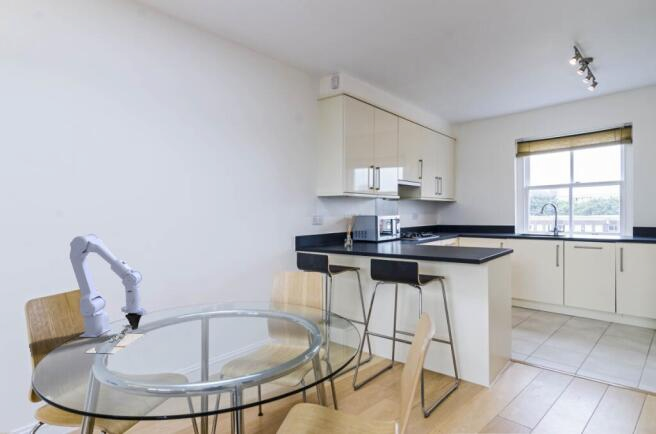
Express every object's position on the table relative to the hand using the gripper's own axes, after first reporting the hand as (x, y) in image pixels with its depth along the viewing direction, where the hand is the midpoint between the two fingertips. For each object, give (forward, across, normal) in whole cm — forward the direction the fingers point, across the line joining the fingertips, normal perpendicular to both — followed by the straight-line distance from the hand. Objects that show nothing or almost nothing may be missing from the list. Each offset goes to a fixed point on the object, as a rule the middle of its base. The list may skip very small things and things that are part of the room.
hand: (134, 329), depth 156 cm
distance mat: (+1, +4, -10) cm, 11 cm away
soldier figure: (+1, +2, -8) cm, 8 cm away
